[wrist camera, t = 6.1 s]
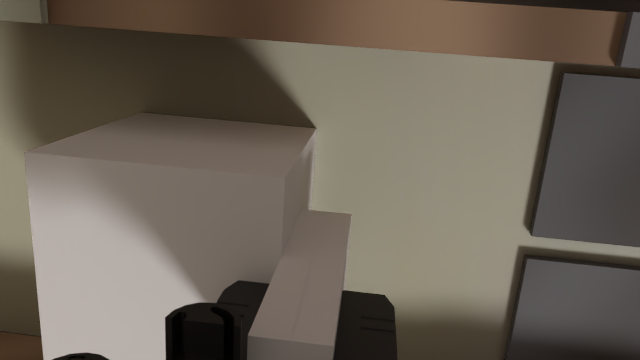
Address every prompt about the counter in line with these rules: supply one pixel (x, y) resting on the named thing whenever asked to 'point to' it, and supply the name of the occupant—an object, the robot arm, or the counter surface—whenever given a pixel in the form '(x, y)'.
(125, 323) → the white cube
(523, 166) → the counter surface
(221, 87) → the counter surface
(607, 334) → the wooden tray
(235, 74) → the counter surface
